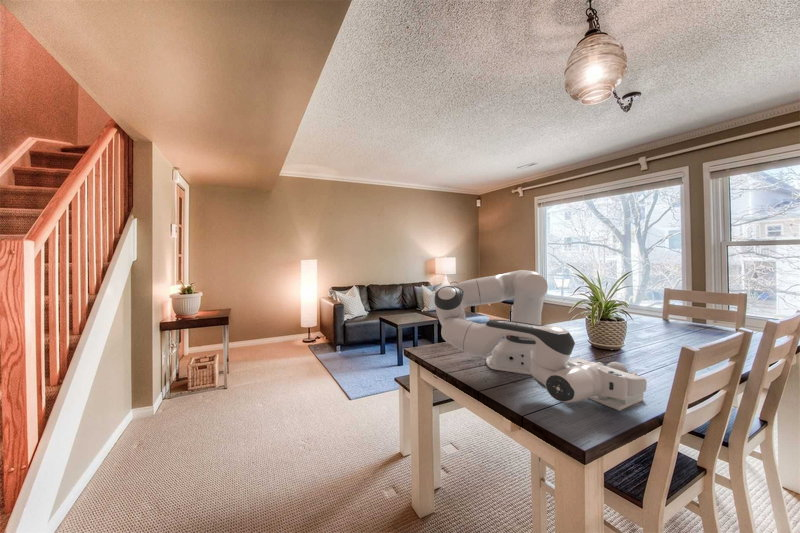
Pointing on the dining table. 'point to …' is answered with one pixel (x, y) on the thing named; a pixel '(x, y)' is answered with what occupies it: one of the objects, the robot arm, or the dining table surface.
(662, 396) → the dining table surface
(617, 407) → the housing base
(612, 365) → the light bulb
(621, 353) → the dining table surface
